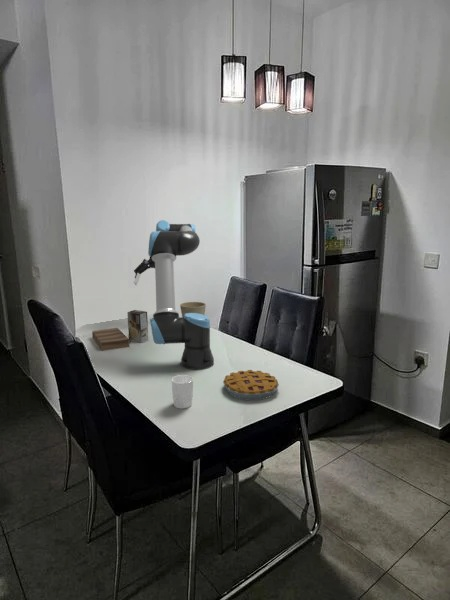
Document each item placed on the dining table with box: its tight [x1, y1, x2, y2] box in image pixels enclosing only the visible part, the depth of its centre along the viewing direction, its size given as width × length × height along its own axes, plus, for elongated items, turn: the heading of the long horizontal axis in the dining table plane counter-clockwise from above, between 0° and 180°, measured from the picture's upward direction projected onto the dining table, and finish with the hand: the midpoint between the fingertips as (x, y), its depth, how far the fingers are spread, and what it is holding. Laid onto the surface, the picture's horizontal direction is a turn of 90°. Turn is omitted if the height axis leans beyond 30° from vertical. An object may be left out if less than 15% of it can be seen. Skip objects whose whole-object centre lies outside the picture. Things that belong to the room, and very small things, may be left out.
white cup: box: [171, 374, 194, 410], centre depth 149 cm, size 8×8×10 cm
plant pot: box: [179, 301, 207, 317], centre depth 240 cm, size 15×15×16 cm
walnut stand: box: [91, 327, 130, 352], centre depth 219 cm, size 24×14×4 cm, turn 29°
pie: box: [222, 369, 280, 401], centre depth 162 cm, size 22×22×5 cm
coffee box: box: [126, 309, 149, 344], centre depth 221 cm, size 9×6×16 cm
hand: (146, 284), depth 227 cm, fingers open, 13 cm apart
